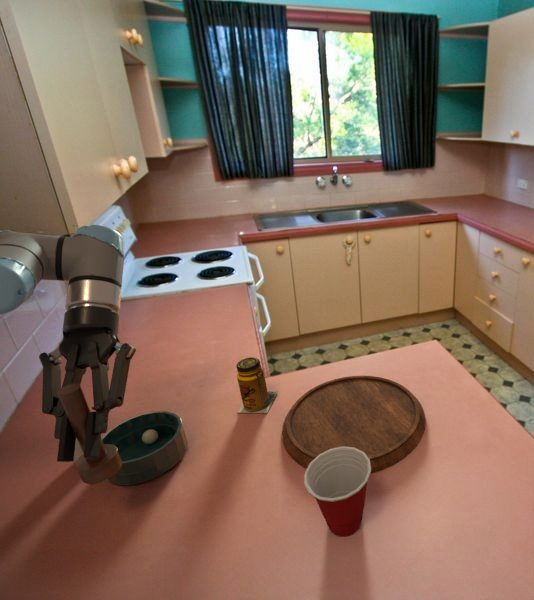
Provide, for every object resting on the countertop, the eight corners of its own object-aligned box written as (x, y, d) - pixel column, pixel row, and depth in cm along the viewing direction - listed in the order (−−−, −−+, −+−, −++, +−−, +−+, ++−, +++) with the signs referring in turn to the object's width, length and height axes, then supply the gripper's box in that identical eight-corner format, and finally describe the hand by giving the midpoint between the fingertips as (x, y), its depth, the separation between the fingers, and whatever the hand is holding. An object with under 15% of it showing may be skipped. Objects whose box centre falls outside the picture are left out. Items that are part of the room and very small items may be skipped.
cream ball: (142, 448, 90) (138, 437, 89) (145, 439, 92) (142, 428, 91) (158, 445, 91) (154, 434, 89) (161, 436, 93) (157, 425, 92)
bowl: (94, 496, 79) (83, 472, 77) (117, 441, 93) (109, 419, 90) (182, 475, 83) (174, 452, 81) (192, 426, 97) (186, 405, 94)
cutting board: (317, 504, 76) (315, 493, 75) (263, 411, 101) (261, 402, 100) (454, 433, 92) (454, 424, 91) (379, 368, 117) (378, 360, 116)
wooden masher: (76, 488, 66) (37, 404, 60) (89, 462, 71) (55, 382, 65) (116, 479, 67) (83, 396, 61) (126, 454, 72) (96, 375, 66)
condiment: (237, 413, 101) (227, 370, 96) (250, 391, 108) (242, 351, 104) (267, 413, 100) (258, 370, 95) (278, 392, 108) (271, 351, 103)
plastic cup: (306, 507, 76) (298, 455, 71) (365, 488, 79) (360, 438, 74) (318, 562, 66) (309, 506, 62) (383, 538, 70) (380, 484, 65)
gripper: (153, 314, 76) (146, 451, 68) (54, 325, 74) (35, 468, 65) (134, 299, 70) (124, 449, 61) (24, 309, 67) (-2, 468, 58)
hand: (78, 458), depth 63 cm, fingers closed on wooden masher, 3 cm apart
